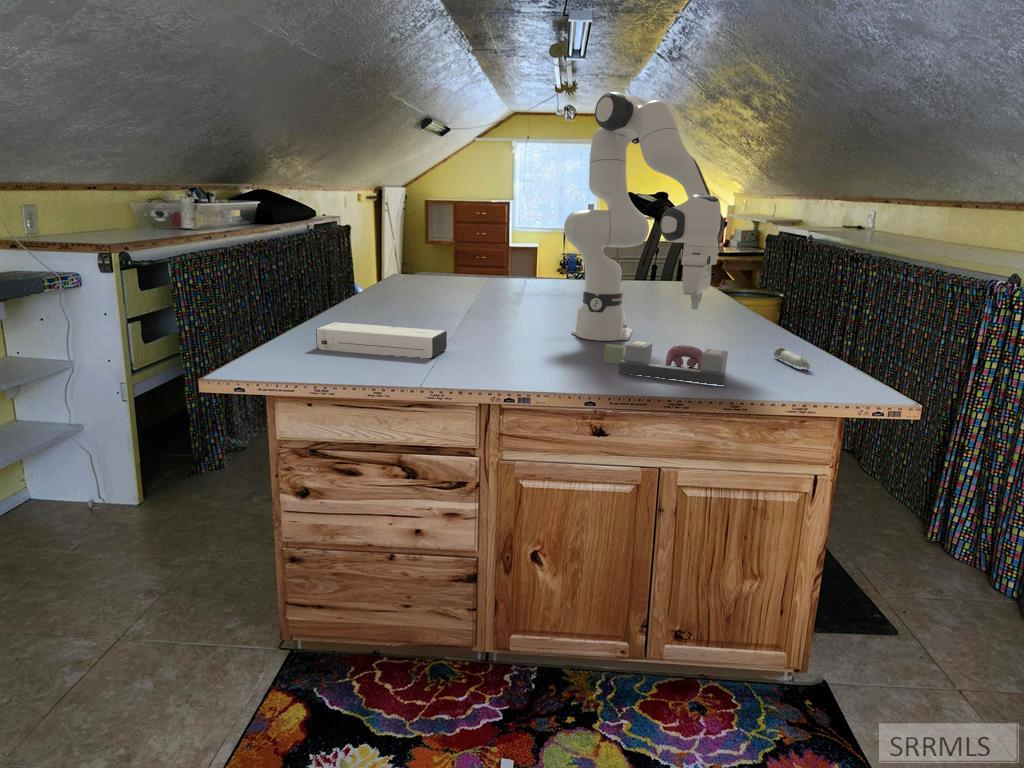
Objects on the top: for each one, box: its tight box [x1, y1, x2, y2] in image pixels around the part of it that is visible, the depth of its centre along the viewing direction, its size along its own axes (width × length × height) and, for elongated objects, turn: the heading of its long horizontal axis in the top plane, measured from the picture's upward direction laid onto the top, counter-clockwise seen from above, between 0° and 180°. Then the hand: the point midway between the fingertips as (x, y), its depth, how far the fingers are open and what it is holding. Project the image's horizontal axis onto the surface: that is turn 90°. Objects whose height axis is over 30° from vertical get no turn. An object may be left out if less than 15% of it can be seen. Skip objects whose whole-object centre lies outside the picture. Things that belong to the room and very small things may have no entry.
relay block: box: [603, 343, 626, 364], centre depth 198 cm, size 4×5×4 cm
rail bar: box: [618, 359, 727, 385], centre depth 180 cm, size 2×26×3 cm, turn 65°
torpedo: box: [773, 346, 813, 370], centre depth 200 cm, size 18×5×6 cm, turn 7°
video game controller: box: [665, 344, 704, 370], centre depth 194 cm, size 10×5×7 cm, turn 72°
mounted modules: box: [624, 340, 729, 374], centre depth 184 cm, size 7×24×7 cm, turn 65°
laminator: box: [315, 321, 448, 359], centre depth 202 cm, size 34×12×6 cm, turn 76°
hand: (695, 308), depth 197 cm, fingers closed
